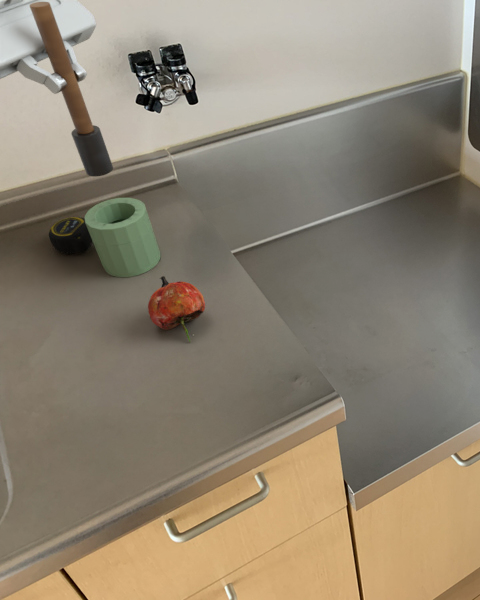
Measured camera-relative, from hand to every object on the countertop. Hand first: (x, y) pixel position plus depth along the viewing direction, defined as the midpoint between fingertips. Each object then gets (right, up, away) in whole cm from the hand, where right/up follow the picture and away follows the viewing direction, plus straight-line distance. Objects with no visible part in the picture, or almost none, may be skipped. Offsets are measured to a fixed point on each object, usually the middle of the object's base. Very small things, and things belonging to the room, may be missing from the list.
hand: (71, 84), depth 78 cm
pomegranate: (+11, -31, +8) cm, 34 cm away
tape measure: (-10, -19, +23) cm, 31 cm away
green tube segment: (-1, -21, +19) cm, 29 cm away
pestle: (-1, -9, +8) cm, 13 cm away
